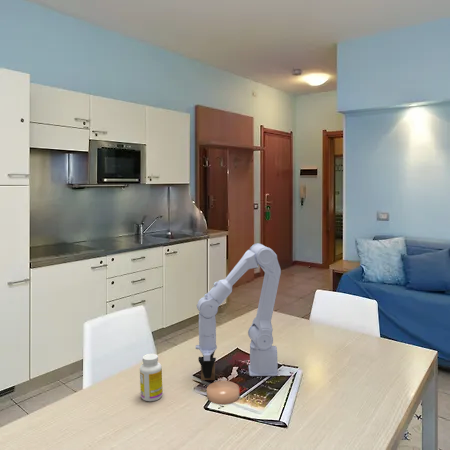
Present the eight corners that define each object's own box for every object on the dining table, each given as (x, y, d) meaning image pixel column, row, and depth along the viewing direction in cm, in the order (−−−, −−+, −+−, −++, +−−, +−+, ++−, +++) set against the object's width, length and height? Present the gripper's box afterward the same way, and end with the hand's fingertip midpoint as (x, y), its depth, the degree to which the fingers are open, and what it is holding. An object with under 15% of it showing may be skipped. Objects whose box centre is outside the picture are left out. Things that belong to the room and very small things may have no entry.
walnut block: (215, 374, 144) (214, 357, 143) (214, 380, 139) (214, 363, 138) (201, 374, 143) (201, 357, 143) (201, 380, 139) (200, 363, 138)
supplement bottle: (166, 393, 131) (165, 353, 130) (156, 403, 125) (154, 362, 124) (147, 389, 133) (146, 351, 132) (136, 400, 127) (135, 359, 126)
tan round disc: (238, 388, 134) (238, 380, 134) (240, 404, 124) (239, 396, 124) (207, 388, 134) (207, 380, 134) (206, 405, 124) (206, 397, 124)
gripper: (196, 325, 147) (197, 363, 148) (193, 341, 132) (194, 382, 134) (216, 325, 147) (217, 362, 148) (216, 341, 132) (216, 382, 134)
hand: (207, 372), depth 141 cm, fingers open, 7 cm apart
